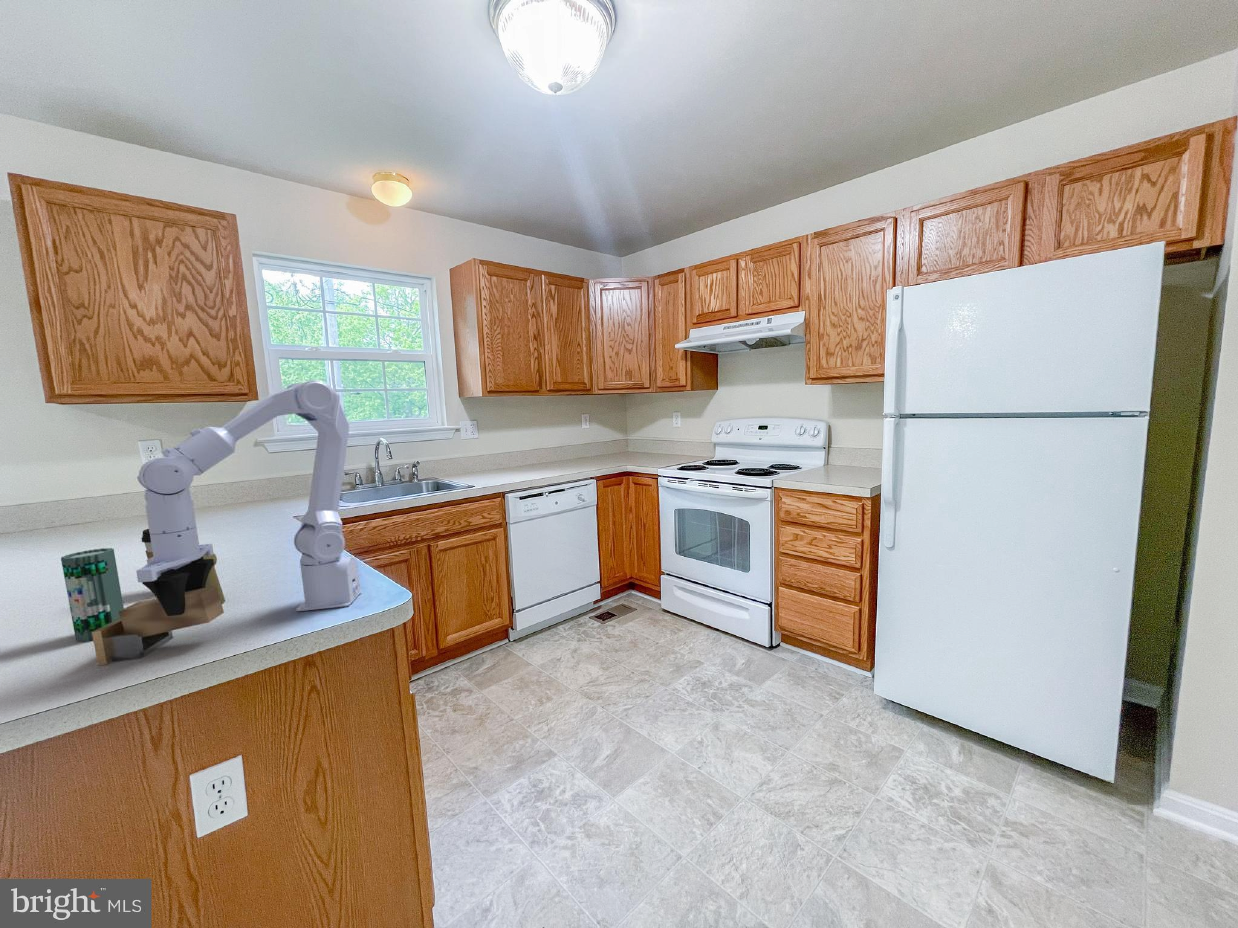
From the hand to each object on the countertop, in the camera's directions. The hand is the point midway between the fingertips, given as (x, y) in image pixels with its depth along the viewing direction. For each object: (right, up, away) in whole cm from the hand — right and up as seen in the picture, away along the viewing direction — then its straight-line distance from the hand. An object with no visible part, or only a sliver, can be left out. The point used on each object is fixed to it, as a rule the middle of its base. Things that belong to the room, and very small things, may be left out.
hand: (185, 609), depth 82 cm
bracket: (-8, -7, -1) cm, 10 cm away
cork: (-12, -5, +18) cm, 22 cm away
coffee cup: (-27, -4, +28) cm, 39 cm away
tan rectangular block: (-1, -3, 0) cm, 3 cm away
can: (-21, -7, +7) cm, 23 cm away
